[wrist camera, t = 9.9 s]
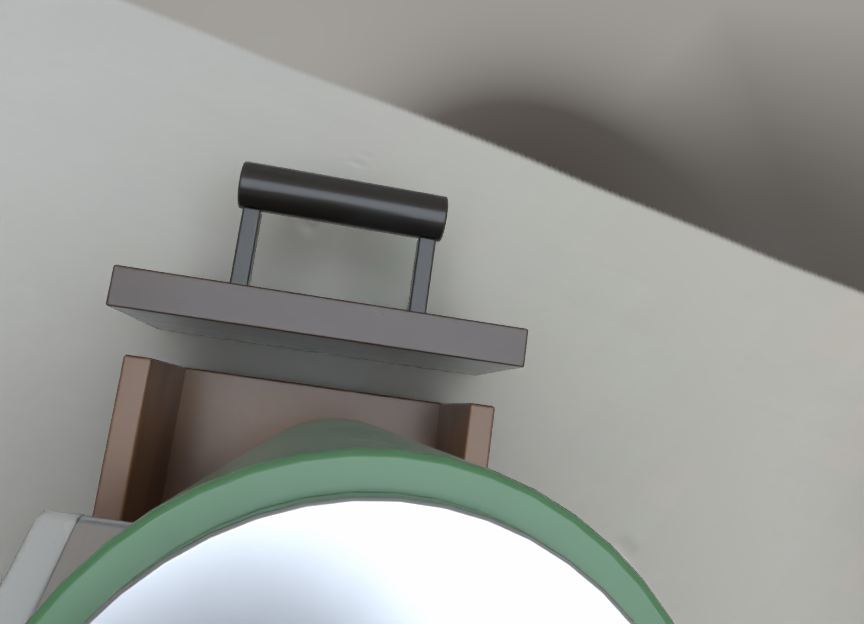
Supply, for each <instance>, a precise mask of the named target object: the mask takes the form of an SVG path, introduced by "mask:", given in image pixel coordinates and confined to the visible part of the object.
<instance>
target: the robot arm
mask: <svg viewBox="0 0 864 624" xmlns="http://www.w3.org/2000/svg"><path fill="white" fill-rule="evenodd" d="M132 523H133V522H129V521H122V520H114V519H107V518H99V517H92V516H85V515H81V514H73V513H65V512H56V511H48V510H44V511H43V512H42V513H41V514H40V515H39V516H38V518H37V519H36V520H35V521H34V522H33V524H32V526H31V528H30V530H29V532H28V534H27V536H26V538H25V540H24V542H23V543H22V545H21V547H20V549H19V551H18V553H17V555H16V557H15V559H14V561H13V563H12V564H11V566H10V568H9V570H8V572H7V574H6V576H5V578H4V580H3V582H2V583H1V585H0V624H25V623H26V622H27V620H28V619H29V618H30V617H31V616H32V615H33V614H34V612H35V611H36V610H37V609H38V608H39V607H40V606H41V604H42V603H43V602H44V601H45V600H46V599H47V598H48V596H49V595H50V594H51V593H52V592H53V591H54V590H55V588H56V587H57V586H58V585H59V584H60V583H61V582H62V581H63V580H64V579H65V578H66V577H67V576H68V575H69V574H70V573H72V572H73V571H74V570H75V569H76V568H77V567H78V566H79V565H80V564H82V563H83V562H84V561H85V560H86V559H87V558H88V557H89V556H90V555H92V554H93V553H94V552H95V551H96V550H97V549H98V548H99V547H100V546H102V545H103V544H104V543H105V542H106V541H108V540H109V539H111V538H112V537H114V536H115V535H116V534H118V533H119V532H121V531H122V530H124V529H125V528H126V527H128V526H129V525H131V524H132Z"/></svg>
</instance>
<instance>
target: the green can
mask: <svg viewBox="0 0 864 624" xmlns="http://www.w3.org/2000/svg"><path fill="white" fill-rule="evenodd" d="M25 624H674V623H673V621H672V619H671V618H670V616H669V615H668V614H667V612H666V611H665V609H664V608H663V607H662V605H661V604H660V602H659V601H658V599H657V598H656V597H655V595H654V594H653V592H652V591H651V590H650V588H649V587H648V585H647V584H646V583H645V581H644V580H643V579H642V578H641V577H640V575H639V574H638V573H637V572H636V571H635V570H634V569H633V568H632V567H631V566H630V565H629V564H628V562H627V561H626V560H625V559H624V558H623V557H622V556H621V555H620V554H619V553H618V552H617V550H616V549H615V548H614V547H613V546H612V545H611V544H610V543H608V542H607V541H606V540H605V539H604V538H602V537H601V536H600V535H599V534H598V533H596V532H595V531H594V530H593V529H592V528H590V527H589V526H588V525H587V524H586V523H584V522H583V521H582V520H581V519H580V518H578V517H577V516H576V515H575V514H573V513H572V512H570V511H568V510H567V509H565V508H564V507H562V506H560V505H559V504H557V503H556V502H554V501H552V500H551V499H549V498H548V497H546V496H545V495H543V494H541V493H540V492H538V491H537V490H535V489H533V488H530V487H528V486H526V485H524V484H522V483H520V482H517V481H515V480H513V479H511V478H509V477H506V476H504V475H502V474H500V473H498V472H495V471H493V470H491V469H488V468H485V467H483V466H480V465H477V464H475V463H472V462H469V461H467V460H464V459H461V458H459V457H456V456H453V455H451V454H448V453H446V452H443V451H440V450H438V449H435V448H432V447H430V446H427V445H424V444H422V443H419V442H416V441H414V440H411V439H408V438H406V437H403V436H400V435H398V434H395V433H392V432H390V431H387V430H384V429H382V428H379V427H376V426H374V425H371V424H367V423H364V422H361V421H356V420H350V419H341V418H327V419H317V420H312V421H308V422H304V423H300V424H297V425H295V426H292V427H289V428H287V429H285V430H283V431H281V432H279V433H278V434H276V435H274V436H272V437H271V438H269V439H267V440H266V441H264V442H262V443H261V444H259V445H257V446H256V447H254V448H252V449H251V450H249V451H248V452H246V453H244V454H243V455H241V456H239V457H238V458H236V459H234V460H233V461H231V462H229V463H228V464H226V465H224V466H223V467H221V468H220V469H218V470H216V471H215V472H213V473H211V474H210V475H208V476H206V477H205V478H203V479H201V480H200V481H198V482H197V483H195V484H193V485H192V486H190V487H188V488H187V489H185V490H183V491H182V492H180V493H178V494H177V495H175V496H174V497H172V498H170V499H169V500H167V501H165V502H164V503H162V504H160V505H159V506H157V507H155V508H154V509H152V510H151V511H149V512H148V513H146V514H145V515H143V516H142V517H141V518H139V519H138V520H136V521H135V522H133V523H132V524H131V525H129V526H128V527H126V528H125V529H124V530H122V531H121V532H119V533H118V534H116V535H115V536H114V537H112V538H111V539H109V540H108V541H106V542H105V543H104V544H103V545H102V546H100V547H99V548H98V549H97V550H96V551H95V552H94V553H93V554H92V555H90V556H89V557H88V558H87V559H86V560H85V561H84V562H83V563H82V564H80V565H79V566H78V567H77V568H76V569H75V570H74V571H73V572H72V573H70V574H69V575H68V576H67V577H66V578H65V579H64V580H63V581H62V582H61V583H60V584H59V585H58V586H57V587H56V588H55V590H54V591H53V592H52V593H51V594H50V595H49V596H48V598H47V599H46V600H45V601H44V602H43V603H42V604H41V606H40V607H39V608H38V609H37V610H36V611H35V612H34V614H33V615H32V616H31V617H30V618H29V619H28V620H27V622H26V623H25Z"/></svg>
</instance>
